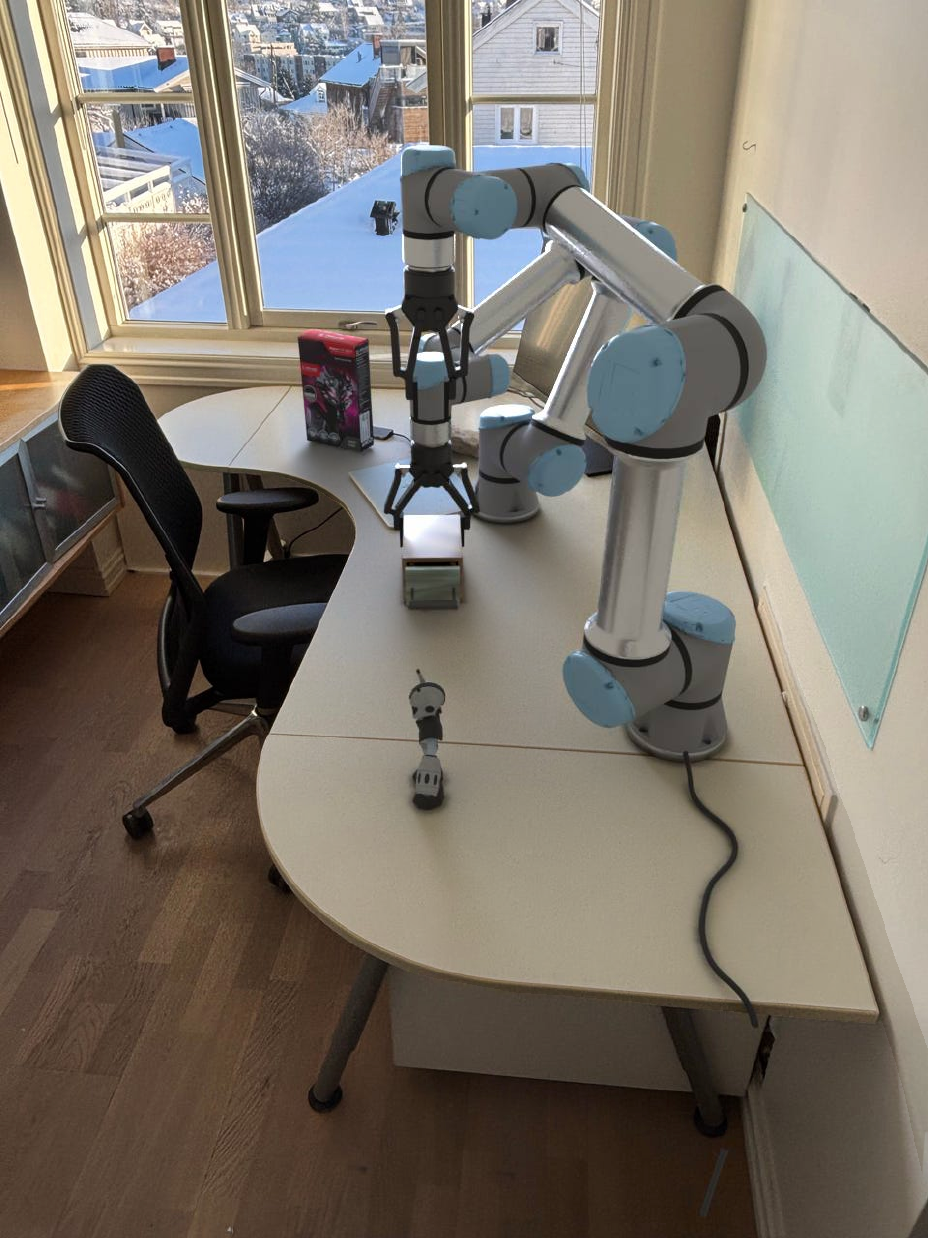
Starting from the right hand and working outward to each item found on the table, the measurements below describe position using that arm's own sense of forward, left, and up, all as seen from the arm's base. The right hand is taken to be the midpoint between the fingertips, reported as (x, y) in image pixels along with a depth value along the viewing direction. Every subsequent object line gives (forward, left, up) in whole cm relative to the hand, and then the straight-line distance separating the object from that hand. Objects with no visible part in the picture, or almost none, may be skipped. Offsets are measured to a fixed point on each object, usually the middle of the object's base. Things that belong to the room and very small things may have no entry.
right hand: (431, 418), depth 147 cm
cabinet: (+14, +4, -39) cm, 41 cm away
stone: (+76, +19, -39) cm, 87 cm away
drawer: (+8, +2, -38) cm, 39 cm away
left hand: (+19, +6, -34) cm, 39 cm away
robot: (-42, -12, -39) cm, 58 cm away
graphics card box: (+70, +46, -39) cm, 92 cm away
